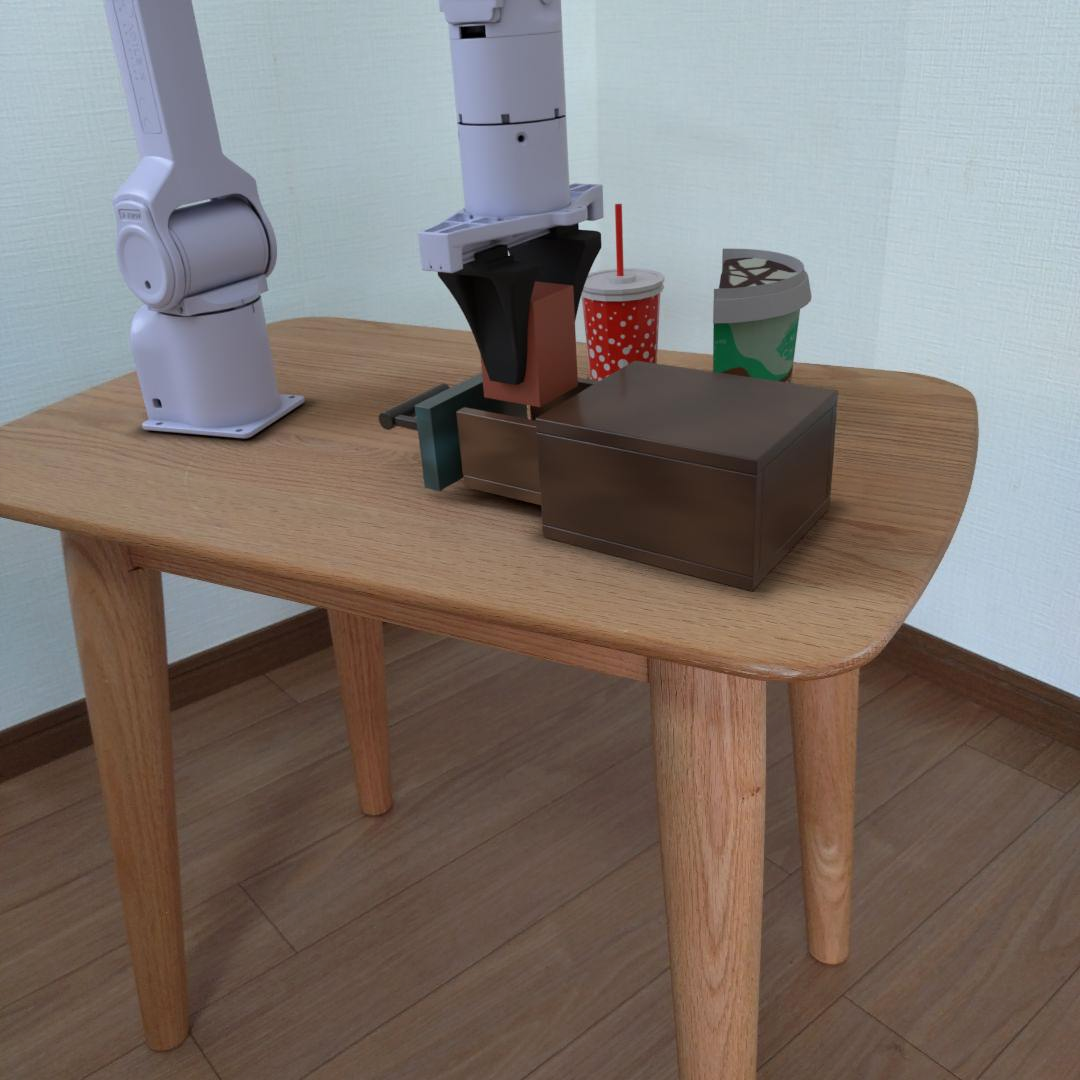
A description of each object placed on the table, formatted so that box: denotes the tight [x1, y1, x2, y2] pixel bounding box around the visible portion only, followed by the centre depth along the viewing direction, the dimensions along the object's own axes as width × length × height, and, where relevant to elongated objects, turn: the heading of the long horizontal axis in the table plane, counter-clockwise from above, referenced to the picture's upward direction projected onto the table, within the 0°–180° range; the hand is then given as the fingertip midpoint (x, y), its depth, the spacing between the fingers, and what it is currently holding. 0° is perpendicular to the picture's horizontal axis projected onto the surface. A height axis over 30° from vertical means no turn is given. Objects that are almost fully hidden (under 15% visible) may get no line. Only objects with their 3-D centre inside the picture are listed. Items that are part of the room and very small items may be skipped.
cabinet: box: [535, 361, 839, 592], centre depth 57 cm, size 13×11×7 cm
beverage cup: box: [581, 203, 665, 381], centre depth 73 cm, size 6×6×14 cm
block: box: [479, 281, 579, 407], centre depth 60 cm, size 4×4×6 cm
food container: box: [712, 248, 813, 383], centre depth 71 cm, size 12×6×10 cm, turn 168°
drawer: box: [378, 372, 599, 506], centre depth 63 cm, size 16×9×5 cm, turn 56°
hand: (529, 369), depth 60 cm, fingers closed on block, 4 cm apart
